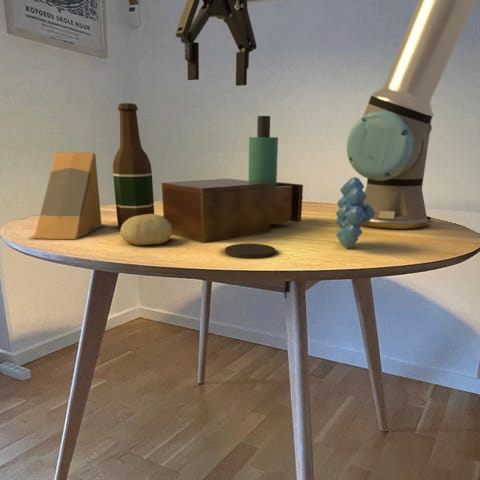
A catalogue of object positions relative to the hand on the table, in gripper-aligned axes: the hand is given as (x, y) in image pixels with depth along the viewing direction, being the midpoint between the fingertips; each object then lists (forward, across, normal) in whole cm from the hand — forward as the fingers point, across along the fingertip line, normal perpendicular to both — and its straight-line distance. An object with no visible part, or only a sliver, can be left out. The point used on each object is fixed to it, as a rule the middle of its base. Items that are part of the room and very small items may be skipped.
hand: (218, 82), depth 100 cm
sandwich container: (+29, +33, -8) cm, 45 cm away
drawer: (+28, -2, +13) cm, 31 cm away
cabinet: (+29, +11, +12) cm, 33 cm away
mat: (+28, +19, +30) cm, 45 cm away
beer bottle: (+29, +20, -3) cm, 36 cm away
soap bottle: (+26, -2, +13) cm, 30 cm away
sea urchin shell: (+29, +27, +12) cm, 41 cm away
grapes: (+28, +4, +40) cm, 49 cm away
